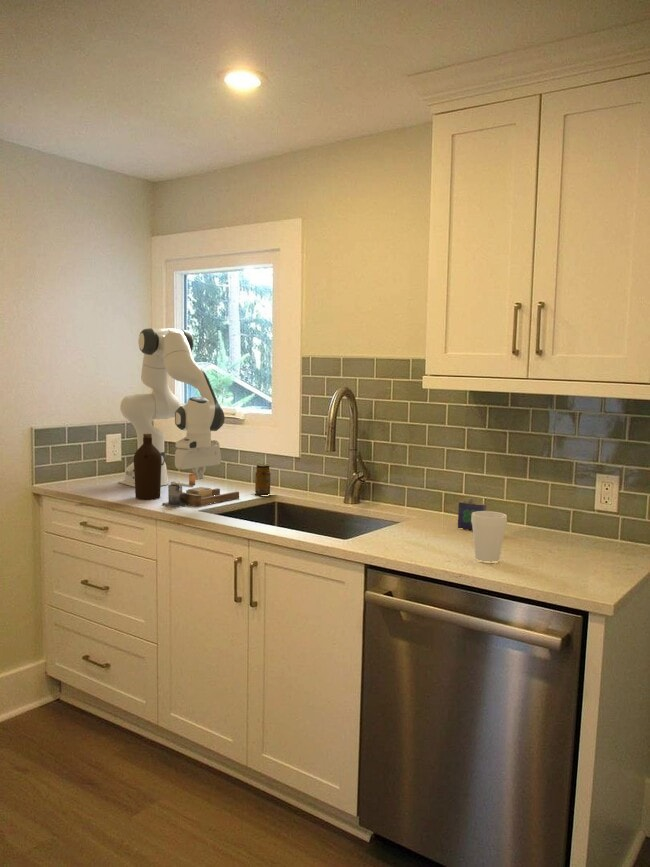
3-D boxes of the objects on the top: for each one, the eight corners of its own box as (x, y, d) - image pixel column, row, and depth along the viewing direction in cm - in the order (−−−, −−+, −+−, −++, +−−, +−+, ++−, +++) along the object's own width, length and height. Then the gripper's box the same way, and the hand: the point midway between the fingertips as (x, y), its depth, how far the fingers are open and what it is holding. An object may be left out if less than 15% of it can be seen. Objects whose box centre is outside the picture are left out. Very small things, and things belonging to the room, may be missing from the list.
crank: (169, 484, 268) (169, 471, 268) (175, 483, 271) (175, 470, 270) (190, 488, 261) (190, 475, 261) (197, 487, 264) (197, 473, 264)
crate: (186, 503, 274) (186, 489, 274) (199, 500, 281) (199, 486, 281) (198, 505, 271) (198, 491, 271) (212, 501, 278) (212, 488, 278)
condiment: (265, 492, 299) (265, 463, 298) (277, 495, 293) (277, 466, 292) (250, 494, 295) (250, 464, 294) (262, 497, 288) (262, 467, 287)
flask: (486, 530, 237) (487, 498, 236) (483, 532, 234) (484, 499, 233) (459, 527, 241) (460, 495, 240) (455, 528, 239) (456, 496, 238)
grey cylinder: (162, 505, 269) (162, 485, 268) (176, 502, 274) (176, 483, 274) (175, 507, 265) (175, 487, 264) (188, 505, 270) (188, 485, 269)
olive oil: (166, 498, 282) (166, 434, 279) (140, 501, 276) (139, 435, 273) (155, 494, 290) (154, 432, 288) (129, 496, 284) (129, 433, 282)
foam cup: (464, 561, 199) (466, 515, 198) (477, 554, 207) (479, 509, 206) (497, 567, 194) (499, 519, 193) (509, 560, 202) (511, 514, 200)
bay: (175, 502, 275) (175, 491, 274) (217, 494, 292) (217, 484, 292) (197, 506, 268) (197, 495, 267) (239, 498, 285) (239, 488, 285)
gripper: (213, 439, 276) (212, 475, 277) (171, 443, 259) (172, 481, 260) (225, 440, 272) (224, 476, 273) (184, 444, 255) (184, 483, 257)
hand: (198, 479), depth 267 cm, fingers closed
